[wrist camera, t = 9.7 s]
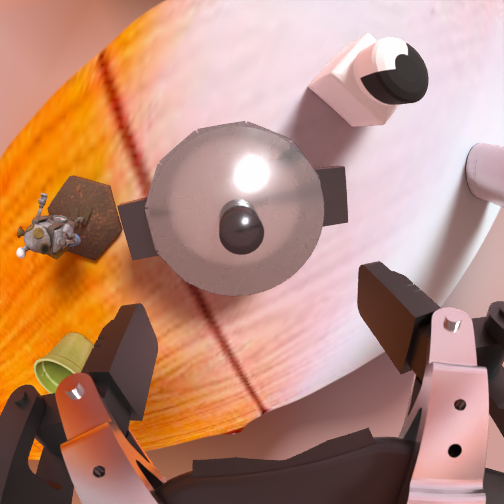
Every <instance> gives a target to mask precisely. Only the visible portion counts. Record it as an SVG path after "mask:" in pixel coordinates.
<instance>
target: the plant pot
mask: <svg viewBox="0 0 504 504" xmlns="http://www.w3.org/2000/svg"><path fill="white" fill-rule="evenodd" d="M92 348H94V345H93V344H92V343H91V342H90V341H88V340H87V339H86V338H85V337H84V336H83V335H81V334H78V333H68V334H67V335H65V336H64V338H63V339H62V340H61V341H60V342H59V343H58V344H57V345H56V346H55V347H54V348H53V349H52V350H51V352H50V353H49V354H48V355H46V356H44V357H43V358H40V359H38V360H37V361H36V362H35V364H34V372H35V375H36V377H37V379H38V381H39V382H40V384H41V385H42V386H43V387H44V388H45V389H46V390H47V391H48V392H49V393H50V394H52V393H55V392H56V389H57V387H58V385H59V384H60V382H61V381H62V380H63V379H65V378H66V377H68V376H69V375H72V374H75V373H81V371H82V369H83V367H84V364H85V362H86V360H87V358H88V356H89V354H90V352H91V350H92Z"/></svg>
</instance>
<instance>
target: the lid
mask: <svg viewBox="0 0 504 504" xmlns="http://www.w3.org/2000/svg"><path fill="white" fill-rule="evenodd" d="M149 213H150V225H151V231H152V235H153V238H154V241H155V244H156V246H157V248H158V250H159V252H160V254H161V255H162V257H163V258H164V260H165V261H166V263H167V264H168V265H169V266H170V267H171V269H172V270H173V271H174V272H175V273H177V274H178V275H179V276H180V277H181V278H182V279H184V280H185V281H187V282H188V283H190V284H192V285H194V286H196V287H198V288H199V289H202V290H205V291H208V292H211V293H215V294H219V295H227V296H243V295H251V294H256V293H260V292H263V291H266V290H269V289H271V288H273V287H275V286H277V285H279V284H281V283H283V282H284V281H286V280H287V279H289V278H290V277H291V276H292V275H294V274H295V273H296V272H297V271H298V270H299V269H300V268H301V267H302V266H303V265H304V264H305V262H306V261H307V260H308V258H309V257H310V256H311V254H312V252H313V250H314V249H315V247H316V245H317V242H318V240H319V237H320V234H321V230H322V226H323V219H324V200H323V193H322V190H321V186H320V183H319V180H318V178H317V176H316V173H315V171H314V170H313V168H312V166H311V165H310V163H309V162H308V161H307V159H306V158H305V157H304V156H303V155H302V153H301V152H299V151H298V150H297V149H296V148H295V147H294V146H293V145H291V144H290V143H289V142H287V141H286V140H284V139H283V138H281V137H279V136H277V135H275V134H273V133H270V132H267V131H264V130H261V129H256V128H250V127H227V128H221V129H216V130H212V131H209V132H207V133H204V134H201V135H199V136H197V137H196V138H194V139H192V140H190V141H189V142H187V143H186V144H185V145H183V146H182V147H181V148H179V149H178V150H177V151H176V152H175V153H174V154H173V155H172V156H171V157H170V158H169V160H168V161H167V162H166V164H165V165H164V166H163V168H162V170H161V172H160V173H159V175H158V177H157V179H156V182H155V185H154V187H153V191H152V195H151V199H150V210H149Z"/></svg>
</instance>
